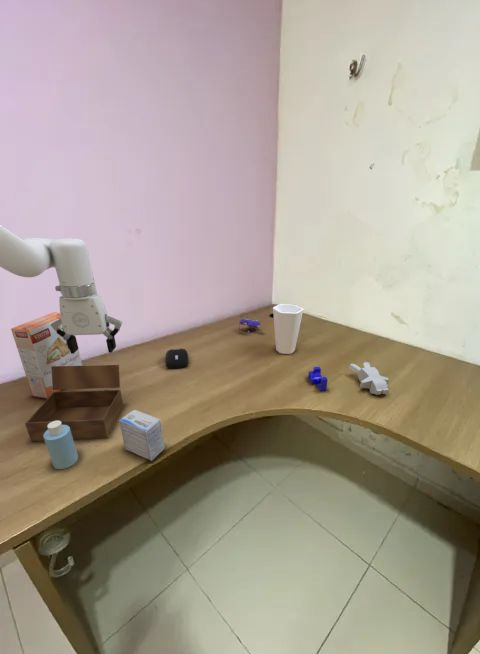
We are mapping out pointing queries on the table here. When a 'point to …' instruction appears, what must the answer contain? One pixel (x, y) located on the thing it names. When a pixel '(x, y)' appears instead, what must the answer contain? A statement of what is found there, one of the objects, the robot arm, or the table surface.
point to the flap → (85, 377)
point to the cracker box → (42, 352)
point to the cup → (286, 326)
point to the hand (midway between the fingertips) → (93, 350)
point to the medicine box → (142, 434)
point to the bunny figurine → (371, 379)
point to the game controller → (249, 323)
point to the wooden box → (78, 413)
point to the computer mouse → (176, 358)
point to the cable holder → (318, 378)
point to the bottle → (60, 445)
